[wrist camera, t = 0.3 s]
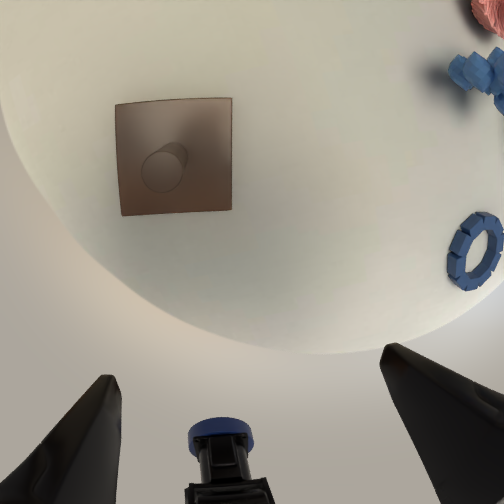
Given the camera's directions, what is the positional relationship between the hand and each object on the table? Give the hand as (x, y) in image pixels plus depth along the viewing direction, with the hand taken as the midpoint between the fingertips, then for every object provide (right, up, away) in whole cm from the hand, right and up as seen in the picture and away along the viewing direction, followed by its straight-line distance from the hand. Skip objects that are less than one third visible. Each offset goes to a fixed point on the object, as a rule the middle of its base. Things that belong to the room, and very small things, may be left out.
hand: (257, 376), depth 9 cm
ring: (+26, +4, +21) cm, 33 cm away
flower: (+24, +30, +9) cm, 39 cm away
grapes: (+20, +20, +13) cm, 31 cm away
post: (-6, +11, +12) cm, 17 cm away
